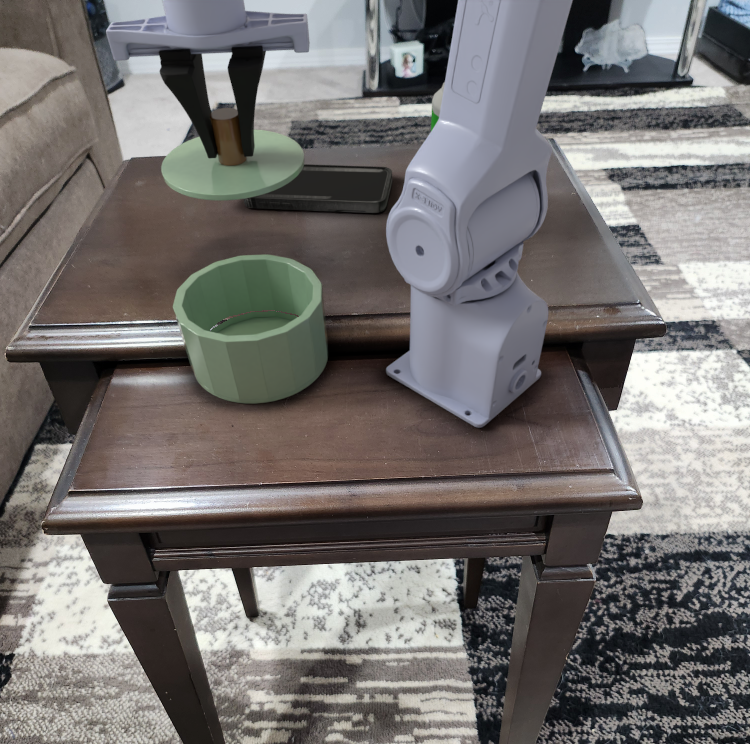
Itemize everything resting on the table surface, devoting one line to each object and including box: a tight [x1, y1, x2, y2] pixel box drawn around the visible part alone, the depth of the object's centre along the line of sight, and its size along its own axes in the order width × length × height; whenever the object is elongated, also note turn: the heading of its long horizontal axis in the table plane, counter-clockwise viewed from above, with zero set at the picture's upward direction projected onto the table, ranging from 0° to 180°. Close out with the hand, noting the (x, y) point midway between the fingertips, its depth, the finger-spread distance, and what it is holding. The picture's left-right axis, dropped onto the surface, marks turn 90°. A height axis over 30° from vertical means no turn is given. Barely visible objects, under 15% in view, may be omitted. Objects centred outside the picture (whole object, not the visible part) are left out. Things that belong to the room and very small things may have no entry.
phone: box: [243, 163, 393, 214], centre depth 71 cm, size 8×1×15 cm
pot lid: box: [160, 107, 305, 201], centre depth 55 cm, size 12×12×5 cm
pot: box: [172, 253, 329, 404], centre depth 52 cm, size 11×11×6 cm
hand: (231, 152), depth 56 cm, fingers closed on pot lid, 2 cm apart
